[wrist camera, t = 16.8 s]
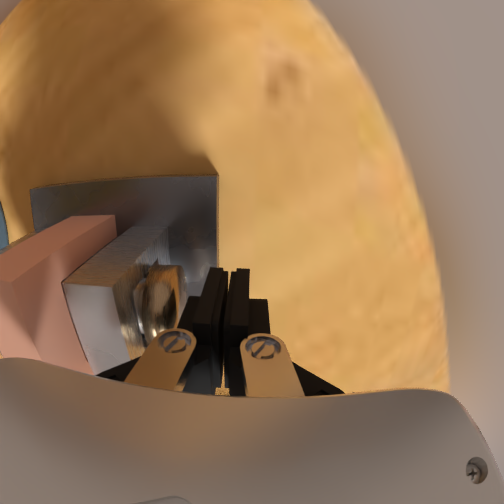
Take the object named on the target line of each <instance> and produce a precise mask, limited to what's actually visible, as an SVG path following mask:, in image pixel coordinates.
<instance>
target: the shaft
mask: <svg viewBox="0 0 504 504" xmlns="http://www.w3.org/2000/svg"><path fill="white" fill-rule="evenodd" d="M72 274H73V273H71V274H70V275H72ZM70 275H68V276H67V277H66V278H65V279H64V280H63V281H61V285H62V289H63V293H64V297H65V300H66V304H67V307H68V310H69V313H70V317H71V320H72V323H73V324H74V322H73V319H72V316H71V312H70V309H69V306H68V302H67V299H66V295H65V292H64V288H63V284H62V282H64V281H65V280H66V279H67V278H68V277H69V276H70ZM133 297H134V302H135V307H136V312H137V317H138V322H139V326H140V331H141V334H145V338H146V341H147V343H148V345H149V344H150V343H151V341H152V340H153V339H154V337H155V336H156V335H157V334H158V333H160V332H162V331H164V330H167V329H173V328H177V326H178V323H179V320H180V318H181V315H182V312H183V310H184V307H185V305H186V302H187V300H188V294H187V282H186V276H185V272H184V269H183V267H182V266H181V265H158V264H156V265H154V266H153V267H152V268H151V269H150V271H149V273H148V276H147V278H142V279H141V281H140V282H139V284H138V285H137V286H136V288H135V289H134V290H133Z"/></svg>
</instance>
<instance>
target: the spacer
mask: <svg viewBox="0 0 504 504" xmlns="http://www.w3.org/2000/svg"><path fill="white" fill-rule="evenodd" d="M116 237H117V231H116V221H115V215H91V216H71V217H69V218H67V219H65V220H63V221H61V222H59V223H57V224H55V225H53V226H51V227H49V228H47V229H45V230H43V231H41V232H40V233H38V234H36V235H34V236H32V237H30V238H28V239H27V240H25V241H23V242H21V243H20V244H18V245H16V246H14V247H13V248H11V249H9V250H8V251H6V252H4V253H3V254H1V255H0V352H1V354H2V356H3V358H8V357H21V358H30V359H35V360H39V361H44V362H47V363H50V364H54V365H57V366H61V367H65V368H69V369H72V370H76V371H79V372H83V373H87V374H91V375H94V374H93V371H92V369H91V367H90V364H89V362H88V360H87V357H86V355H85V352H84V350H83V347H82V344H81V342H80V339H79V336H78V333H77V331H76V328H75V325H74V324H73V323H72V320H71V317H70V313H69V310H68V307H67V304H66V300H65V297H64V293H63V289H62V285H61V281H63V280H64V279H65V278H66V277H67V276H68V275H70V274H71V273H72V272H73V271H74V270H76V269H77V268H78V267H79V266H80V265H82V264H83V263H84V262H85V261H87V260H88V259H89V258H90V257H91V256H93V255H94V254H95V253H97V252H98V251H99V250H100V249H102V248H103V247H104V246H105V245H107V244H108V243H109V242H111V241H112V240H113V239H115V238H116Z"/></svg>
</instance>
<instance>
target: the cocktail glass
mask: <svg viewBox="0 0 504 504" xmlns="http://www.w3.org/2000/svg"><path fill="white" fill-rule="evenodd" d="M7 245H9V242H8V233H7V227H6V222H5V217H4V213H3V209H2V206H1V203H0V249H2V248H4V247H5V246H7Z"/></svg>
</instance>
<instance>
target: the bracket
mask: <svg viewBox="0 0 504 504" xmlns="http://www.w3.org/2000/svg"><path fill="white" fill-rule="evenodd" d="M30 198H31V207H32V215H33V222H34V228H35V231H33V232H31V233H29V234H27V235H25V236H24V237H22V238H20V239H18V240H16V241H14V242H13V243H11V244H9V245H7V246H5V247H4V248H2V249H0V255H1V254H3V253H4V252H6V251H8V250H9V249H11V248H13V247H14V246H16V245H18V244H20V243H21V242H23V241H25V240H27V239H28V238H30V237H32V236H34V235H36V234H38V233H40V232H41V231H43V230H45V229H47V228H49V227H51V226H53V225H55V224H57V223H59V222H61V221H63V220H65V219H67V218H69V217H71V216H91V215H115V221H116V231H117V237H116V238H115V239H113V240H112V241H111V242H109V243H108V244H107V245H105V246H104V247H103V248H102V249H100V250H99V251H98V252H97V253H95V254H94V255H93V256H91V257H90V258H89V259H88V260H87V261H85V262H84V263H83V264H82V265H80V266H79V267H78V268H77V269H76V270H74V271H73V272H72V273H73V274H72V275H70V276H69V277H68V278H67V279H66V280H65V281H64V282H62V284H63V288H64V292H65V295H66V299H67V302H68V306H69V309H70V312H71V316H72V319H73V322H74V325H75V328H76V331H77V333H78V336H79V339H80V342H81V344H82V347H83V350H84V352H85V355H86V357H87V360H88V362H89V364H90V367H91V369H92V371H93V374H94V375H95V376H96V375H97V374H99V373H101V372H103V371H105V370H108V369H111V368H113V367H115V366H118V365H120V364H123V363H125V362H128V361H130V360H133V359H135V358H137V357H140V356H142V354H143V353H144V351H145V350H146V349H147V347H148V346H149V345H148V343H147V341H146V338H145V334H141V331H140V326H139V322H138V317H137V312H136V307H135V302H134V297H133V290H134V289H135V288H136V286H137V285H138V284H139V282H140V281H141V279H142V278H147V276H148V273H149V271H150V269H151V268H152V267H153V266H154V265H156V264H158V265H181V266H182V267H183V269H184V272H185V276H186V282H187V294H188V297H189V296H201V293H202V290H203V287H204V284H205V281H206V278H207V275H208V272H209V269H210V267H217V268H219V175H165V176H143V177H126V178H113V179H101V180H90V181H80V182H72V183H63V184H56V185H48V186H41V187H37V188H34V189H30ZM0 353H1V352H0ZM1 355H2V354H1Z"/></svg>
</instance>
